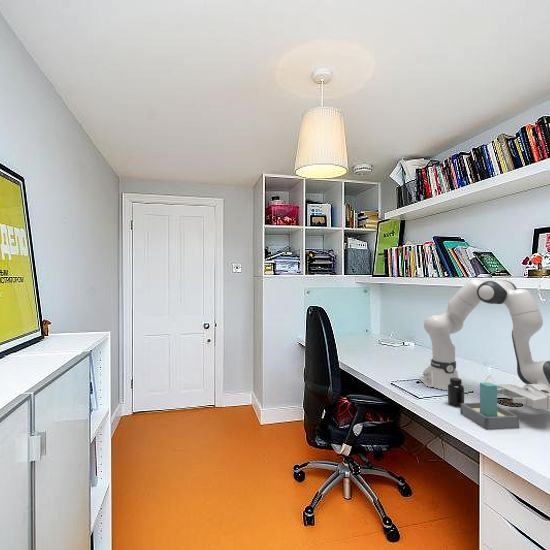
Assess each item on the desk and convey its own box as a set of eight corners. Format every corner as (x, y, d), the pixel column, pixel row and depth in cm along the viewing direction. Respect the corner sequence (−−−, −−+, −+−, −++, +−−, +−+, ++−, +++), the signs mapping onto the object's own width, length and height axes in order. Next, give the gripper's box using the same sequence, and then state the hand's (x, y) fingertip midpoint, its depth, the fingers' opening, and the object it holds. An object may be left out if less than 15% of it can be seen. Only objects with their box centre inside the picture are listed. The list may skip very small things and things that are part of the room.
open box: (460, 413, 154) (460, 403, 154) (490, 412, 155) (490, 402, 155) (486, 429, 138) (486, 418, 138) (519, 427, 140) (519, 416, 140)
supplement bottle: (459, 402, 168) (459, 376, 168) (467, 407, 161) (467, 381, 161) (444, 402, 168) (444, 376, 168) (452, 407, 161) (452, 381, 161)
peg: (479, 418, 149) (479, 382, 149) (489, 418, 149) (489, 382, 149) (487, 422, 144) (487, 386, 144) (497, 422, 145) (497, 385, 145)
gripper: (514, 380, 159) (486, 381, 158) (555, 395, 139) (523, 396, 137) (514, 394, 159) (486, 395, 158) (555, 411, 139) (523, 412, 137)
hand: (503, 396), depth 147 cm, fingers open, 8 cm apart
